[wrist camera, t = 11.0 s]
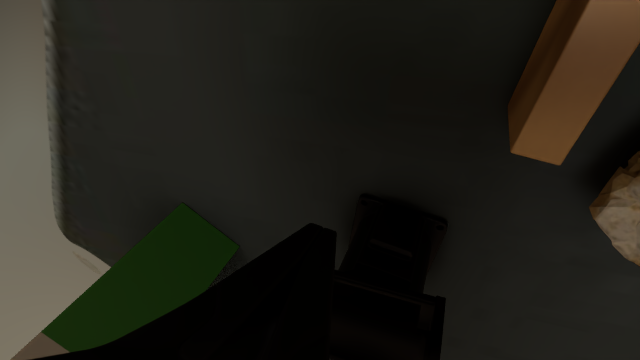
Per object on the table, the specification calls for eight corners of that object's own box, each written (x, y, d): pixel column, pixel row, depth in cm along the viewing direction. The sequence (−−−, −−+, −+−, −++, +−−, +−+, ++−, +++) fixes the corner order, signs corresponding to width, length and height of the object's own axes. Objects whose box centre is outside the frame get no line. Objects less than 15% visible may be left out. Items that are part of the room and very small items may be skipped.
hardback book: (194, 299, 48) (18, 523, 30) (150, 266, 47) (-56, 476, 30) (239, 246, 36) (-6, 563, 18) (182, 202, 36) (-129, 486, 18)
